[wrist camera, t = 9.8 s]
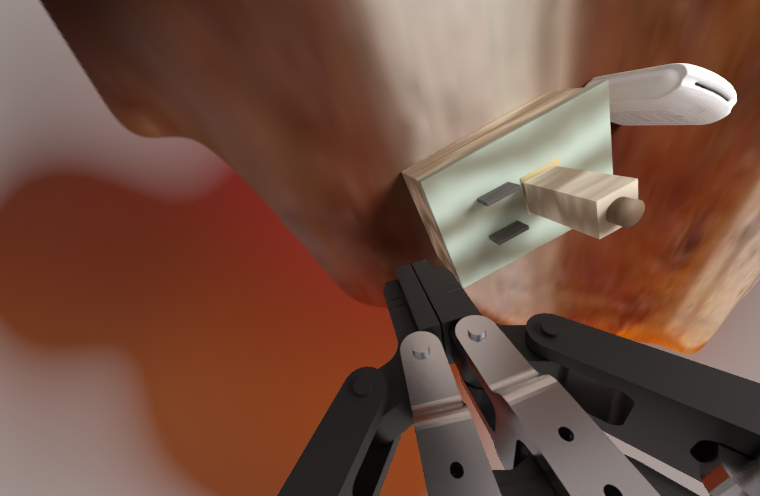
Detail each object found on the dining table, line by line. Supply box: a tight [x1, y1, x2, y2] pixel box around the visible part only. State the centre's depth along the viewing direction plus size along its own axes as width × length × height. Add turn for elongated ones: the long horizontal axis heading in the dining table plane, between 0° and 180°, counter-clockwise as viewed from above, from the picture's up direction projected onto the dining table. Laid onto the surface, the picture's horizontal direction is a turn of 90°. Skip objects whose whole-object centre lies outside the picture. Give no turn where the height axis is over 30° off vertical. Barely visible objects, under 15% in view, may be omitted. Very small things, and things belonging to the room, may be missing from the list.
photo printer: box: [585, 63, 737, 125], centre depth 33 cm, size 10×4×12 cm, turn 75°
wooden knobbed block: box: [523, 166, 645, 239], centre depth 27 cm, size 4×4×10 cm
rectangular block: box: [401, 80, 613, 288], centre depth 35 cm, size 16×23×10 cm
